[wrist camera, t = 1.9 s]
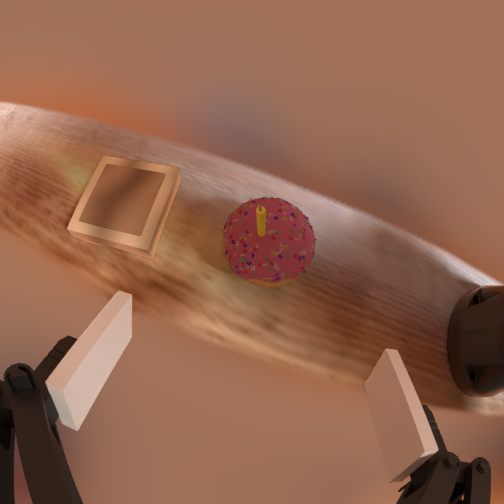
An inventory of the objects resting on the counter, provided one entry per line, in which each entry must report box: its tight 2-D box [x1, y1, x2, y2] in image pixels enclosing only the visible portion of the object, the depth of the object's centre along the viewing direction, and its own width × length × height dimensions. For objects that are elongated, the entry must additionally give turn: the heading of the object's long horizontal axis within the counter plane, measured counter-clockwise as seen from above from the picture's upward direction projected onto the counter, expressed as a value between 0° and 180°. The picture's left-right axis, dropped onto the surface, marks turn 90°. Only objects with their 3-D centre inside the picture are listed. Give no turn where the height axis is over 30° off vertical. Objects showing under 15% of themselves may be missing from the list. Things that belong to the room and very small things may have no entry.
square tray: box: [67, 156, 181, 259], centre depth 31 cm, size 10×10×3 cm
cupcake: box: [222, 197, 316, 287], centre depth 26 cm, size 9×8×12 cm
